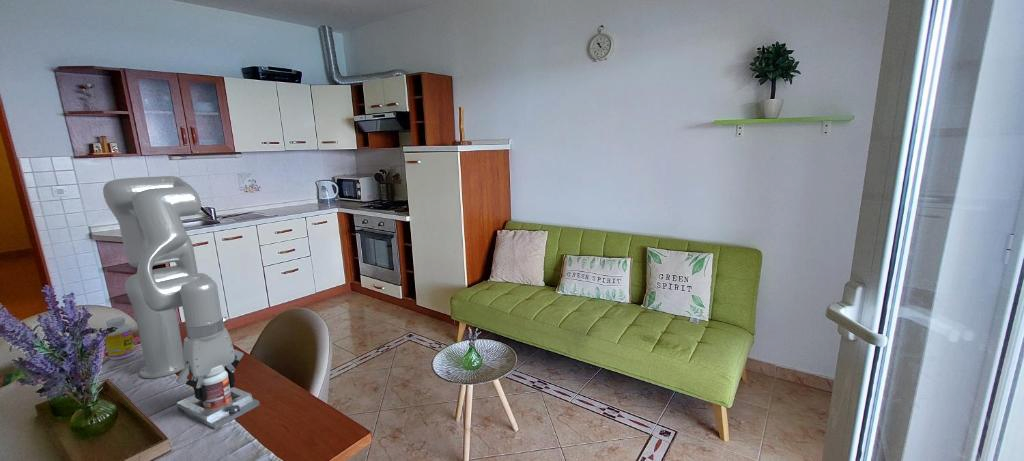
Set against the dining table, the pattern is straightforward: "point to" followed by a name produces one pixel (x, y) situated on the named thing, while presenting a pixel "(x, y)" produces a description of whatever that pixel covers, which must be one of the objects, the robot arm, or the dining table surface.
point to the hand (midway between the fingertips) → (216, 392)
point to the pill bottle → (216, 388)
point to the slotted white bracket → (222, 414)
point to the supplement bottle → (119, 339)
